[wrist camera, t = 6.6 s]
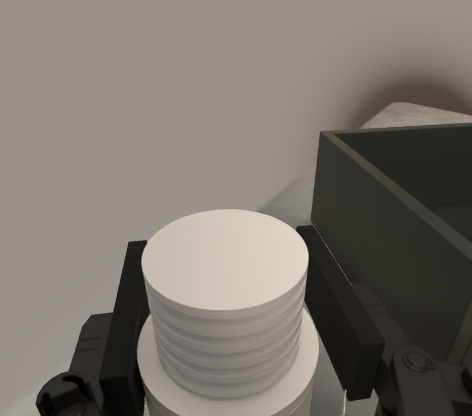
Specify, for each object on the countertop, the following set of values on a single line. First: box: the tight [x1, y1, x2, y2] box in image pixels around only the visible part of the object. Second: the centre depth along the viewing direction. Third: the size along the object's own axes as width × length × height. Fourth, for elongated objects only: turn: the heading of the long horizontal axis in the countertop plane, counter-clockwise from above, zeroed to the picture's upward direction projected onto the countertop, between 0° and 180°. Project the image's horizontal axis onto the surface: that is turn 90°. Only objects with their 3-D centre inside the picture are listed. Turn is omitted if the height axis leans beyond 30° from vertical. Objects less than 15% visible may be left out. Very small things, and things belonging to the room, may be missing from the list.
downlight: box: [137, 209, 346, 416], centre depth 12 cm, size 8×7×10 cm
